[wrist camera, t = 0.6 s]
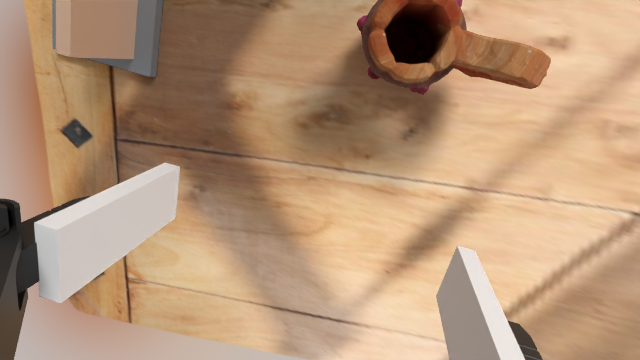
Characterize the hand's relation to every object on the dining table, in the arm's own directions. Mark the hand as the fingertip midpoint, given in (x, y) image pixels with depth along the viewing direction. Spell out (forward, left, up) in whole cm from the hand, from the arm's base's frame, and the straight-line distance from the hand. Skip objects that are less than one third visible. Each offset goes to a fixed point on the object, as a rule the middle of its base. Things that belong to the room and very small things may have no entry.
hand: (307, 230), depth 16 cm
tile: (-6, -28, -25) cm, 38 cm away
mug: (-10, +5, -27) cm, 29 cm away
